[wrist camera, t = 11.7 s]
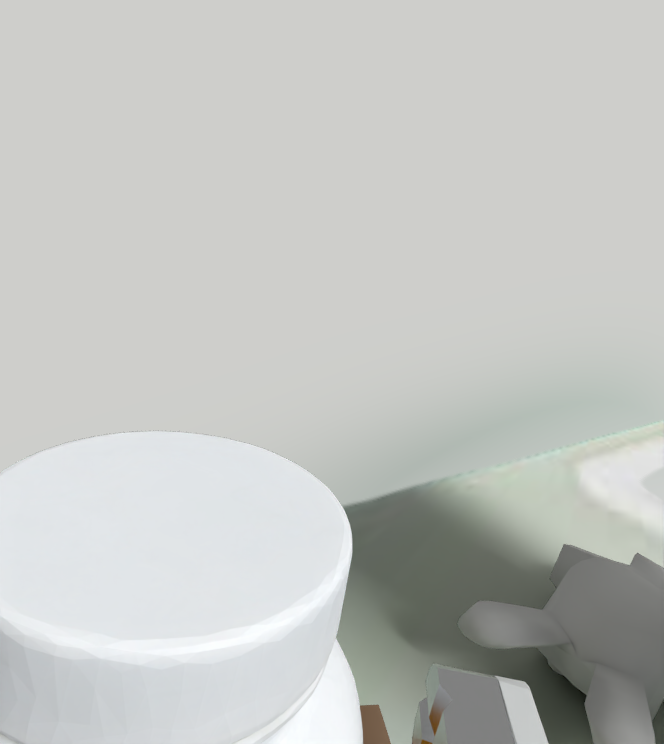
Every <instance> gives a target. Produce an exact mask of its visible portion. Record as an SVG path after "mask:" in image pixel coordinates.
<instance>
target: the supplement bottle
mask: <svg viewBox="0 0 664 744" xmlns="http://www.w3.org/2000/svg"><path fill="white" fill-rule="evenodd" d="M351 558H352V532H351V528H350V524H349V521H348V518H347V515H346V513H345V511H344V509H343V507H342V505H341V504H340V502H339V501H338V499H337V498H336V497H335V495H334V494H333V493H332V491H331V490H330V489H329V488H328V487H327V486H326V485H325V484H324V483H323V482H322V481H320V480H319V479H318V478H316V477H315V476H314V475H312V474H311V473H310V472H309V471H307V470H306V469H304V468H302V467H301V466H299V465H297V464H296V463H294V462H293V461H291V460H289V459H287V458H284V457H282V456H280V455H278V454H276V453H274V452H271V451H269V450H266V449H264V448H261V447H258V446H255V445H252V444H248V443H245V442H239V441H236V440H232V439H228V438H224V437H218V436H212V435H206V434H198V433H187V432H176V431H135V432H123V433H113V434H106V435H99V436H94V437H89V438H84V439H79V440H75V441H71V442H67V443H64V444H60V445H57V446H54V447H51V448H48V449H45V450H42V451H40V452H37V453H35V454H33V455H30V456H28V457H26V458H24V459H22V460H20V461H18V462H16V463H15V464H13V465H11V466H9V467H7V468H6V469H4V470H3V471H1V472H0V744H363V729H362V720H361V712H360V704H359V698H358V693H357V689H356V684H355V681H354V677H353V674H352V671H351V669H350V666H349V664H348V662H347V659H346V657H345V655H344V653H343V651H342V649H341V647H340V645H339V643H338V641H337V639H336V635H337V632H338V628H339V623H340V617H341V612H342V606H343V601H344V596H345V590H346V585H347V580H348V574H349V569H350V564H351Z"/></svg>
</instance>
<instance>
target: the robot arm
mask: <svg viewBox="0 0 664 744" xmlns="http://www.w3.org/2000/svg"><path fill="white" fill-rule="evenodd" d="M426 691H427V698H425V699H424V700H422V701H421V702H419V705H418V709H417V713H416V717H415V722H414V729H413V737H412V744H549V743H548V740H547V737H546V734H545V731H544V728H543V725H542V723H541V720H540V717H539V714H538V711H537V708H536V705H535V702H534V699H533V696H532V693H531V690H530V687H529V686H528V685H527V684H526V682H524V681H519V680H514V679H509V678H504V677H500V676H495V675H494V676H492V675H488V674H483V673H479V672H474V671H469V670H464V669H460V668H455V667H450V666H445V665H441V664H436V663H433V664H432V666H431V667H430V669H429V672H428V675H427V678H426Z"/></svg>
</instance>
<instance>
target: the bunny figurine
mask: <svg viewBox="0 0 664 744" xmlns="http://www.w3.org/2000/svg"><path fill="white" fill-rule="evenodd" d="M550 580H551V581H552V583H553V584H554V585H555V587H556V588H557V589H556V590H555V592H554V593H553V595H552V596H551V597H550V599H549V600H548V602H547V603H546V605H545V606H544V608H543V609H542V610H541V609H536V608H531V607H525V606H520V605H514V604H507V603H501V602H495V601H478V602H476V603H475V604H474V605H473V606H472V607H471V608H470V609H468V610H467V611H466V612H465V613H464V614H463V615H461V616H460V618H459V620H458V623H457V626H458V627H459V629H460V630H461V632H462V633H463V635H464V636H466V637H467V638H468V639H470V640H471V641H473V642H474V643H476V644H478V645H480V646H482V647H484V648H492V649H515V648H532V647H536V648H537V649H538V650H539V651H540V652H541V653H542V654H543V655H544V656H545V657H546V658H547V660H548V665H549V666H550V667H551V668H552V669H553V670H554V671H555V672H557V673H558V674H560V675H564V676H565V677H566V678H567V679H568V680H569V681H570V682H571V683H572V684H573V685H574V686H575V687H576V688H578V689H579V690H580V691H582V692H583V693H584V694H586V695H587V697H586V701H585V704H584V705H585V709H586V713H587V717H588V721H589V725H590V729H591V733H592V739H593V744H655V735H654V730H653V725H652V721H653V719H654V717H655V716H656V714H657V712H658V710H659V708H660V706H661V704H662V702H663V700H664V568H663V567H661V566H659V565H658V564H656V563H654V562H652V561H651V560H649V559H647V558H646V557H644V556H642V555H640V554H639V553H637V554H636V555H635V556H634V558H633V560H632V562H631V564H630V565H627V564H623V563H619V562H616V561H612V560H610V559H607V558H604V557H602V556H599V555H596V554H594V553H591V552H588V551H586V550H583V549H580V548H578V547H575V546H572V545H566V544H564V545H563V547H562V550H561V552H560V554H559V557H558V559H557V561H556V564H555V566H554V568H553V571H552V573H551V576H550Z"/></svg>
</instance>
